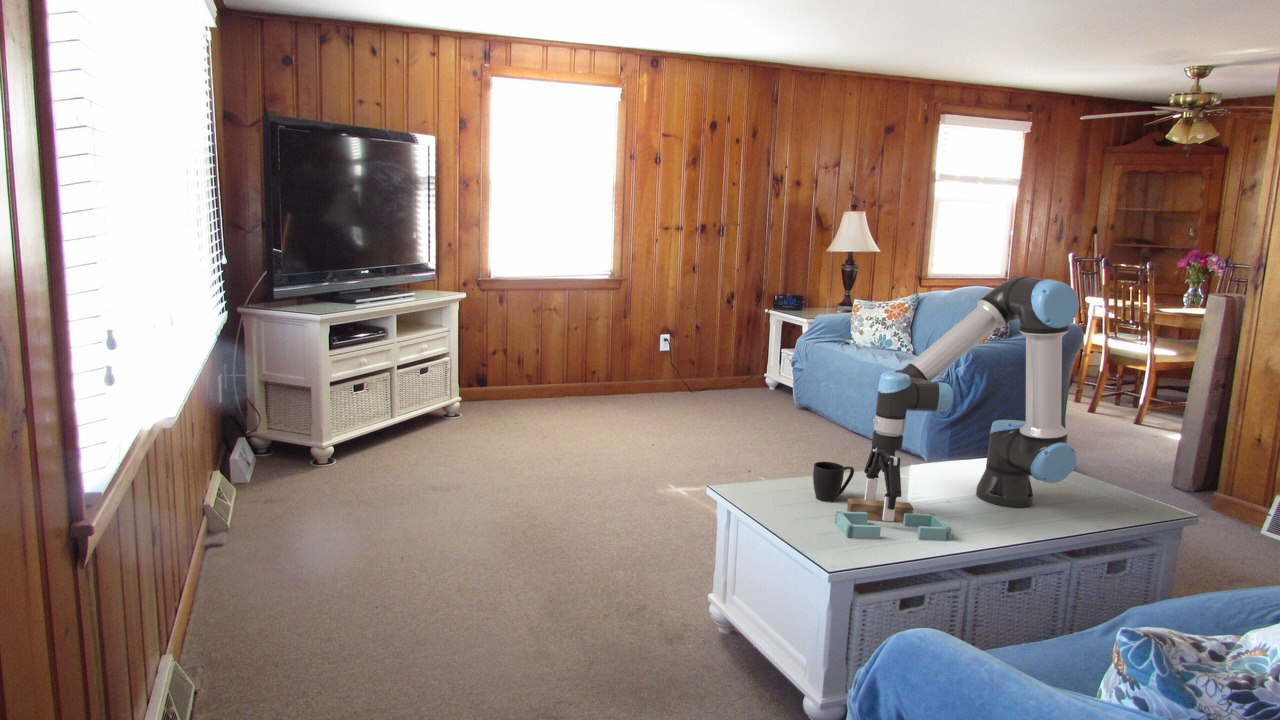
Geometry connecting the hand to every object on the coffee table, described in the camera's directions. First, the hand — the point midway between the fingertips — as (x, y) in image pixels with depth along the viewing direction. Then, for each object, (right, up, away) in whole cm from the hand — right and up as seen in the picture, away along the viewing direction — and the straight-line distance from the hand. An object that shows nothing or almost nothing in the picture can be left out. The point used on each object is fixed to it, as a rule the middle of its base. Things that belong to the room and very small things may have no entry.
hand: (878, 511), depth 224 cm
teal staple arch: (+10, -4, -8) cm, 13 cm away
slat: (0, -2, 0) cm, 2 cm away
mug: (-9, +1, +14) cm, 17 cm away
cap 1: (-8, -3, -9) cm, 13 cm away
